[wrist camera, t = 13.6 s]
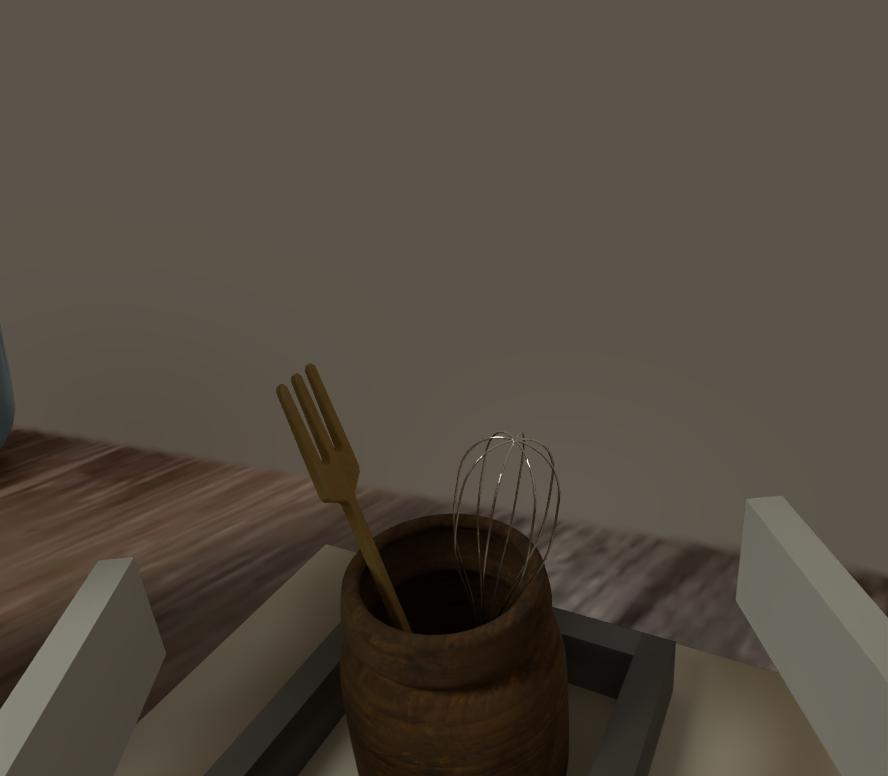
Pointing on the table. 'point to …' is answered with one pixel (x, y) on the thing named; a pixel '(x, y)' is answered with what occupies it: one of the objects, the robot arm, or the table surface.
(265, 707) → the collar board
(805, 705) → the robot arm
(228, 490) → the table surface
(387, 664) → the utensil holder
